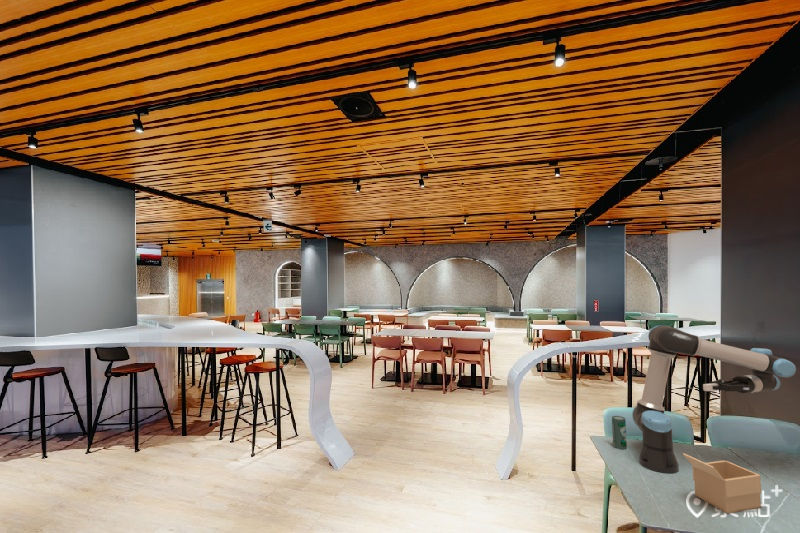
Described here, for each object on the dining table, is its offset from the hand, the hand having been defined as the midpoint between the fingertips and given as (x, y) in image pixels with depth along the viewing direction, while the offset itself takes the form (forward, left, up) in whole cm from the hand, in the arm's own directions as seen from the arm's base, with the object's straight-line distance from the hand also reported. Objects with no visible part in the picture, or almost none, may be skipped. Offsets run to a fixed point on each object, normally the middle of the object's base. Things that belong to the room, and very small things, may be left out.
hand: (704, 387), depth 169 cm
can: (-37, +8, -38) cm, 54 cm away
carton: (+5, -23, -38) cm, 45 cm away
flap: (-1, -31, -23) cm, 39 cm away
